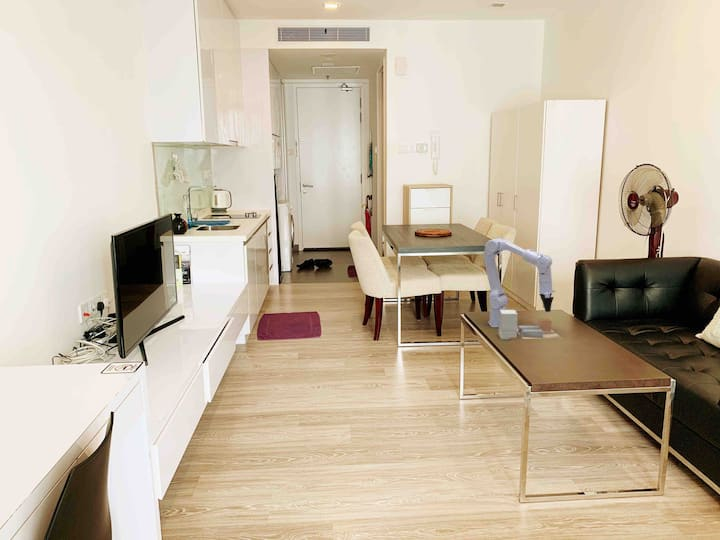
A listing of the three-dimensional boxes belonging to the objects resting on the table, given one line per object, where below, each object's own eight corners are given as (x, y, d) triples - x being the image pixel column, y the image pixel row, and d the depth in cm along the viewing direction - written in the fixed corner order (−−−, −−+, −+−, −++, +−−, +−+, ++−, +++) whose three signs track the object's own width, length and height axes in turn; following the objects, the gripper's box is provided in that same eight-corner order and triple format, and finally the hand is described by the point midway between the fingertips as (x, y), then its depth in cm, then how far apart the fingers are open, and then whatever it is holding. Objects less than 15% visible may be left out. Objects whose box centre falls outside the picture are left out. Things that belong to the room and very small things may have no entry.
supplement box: (513, 335, 265) (515, 309, 262) (516, 340, 257) (518, 313, 255) (498, 334, 265) (499, 309, 263) (500, 339, 258) (501, 313, 256)
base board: (512, 328, 274) (513, 321, 273) (549, 328, 274) (549, 321, 273) (523, 340, 256) (523, 332, 256) (561, 340, 256) (562, 332, 256)
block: (537, 328, 272) (537, 318, 271) (547, 328, 272) (548, 318, 271) (540, 331, 267) (541, 321, 266) (550, 331, 267) (551, 321, 266)
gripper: (555, 283, 253) (557, 312, 255) (552, 278, 267) (554, 306, 269) (539, 284, 255) (541, 313, 257) (537, 279, 269) (539, 307, 271)
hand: (547, 309), depth 263 cm, fingers open, 7 cm apart
